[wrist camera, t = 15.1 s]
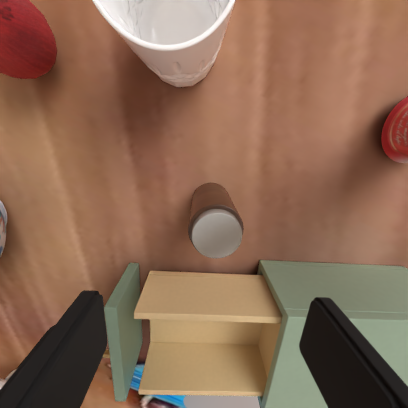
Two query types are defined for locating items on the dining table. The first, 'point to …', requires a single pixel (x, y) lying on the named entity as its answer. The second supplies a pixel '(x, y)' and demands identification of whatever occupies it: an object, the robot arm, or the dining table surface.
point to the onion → (25, 40)
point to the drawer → (192, 333)
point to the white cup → (171, 34)
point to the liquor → (396, 133)
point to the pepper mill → (214, 222)
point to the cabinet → (349, 304)
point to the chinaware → (2, 226)
